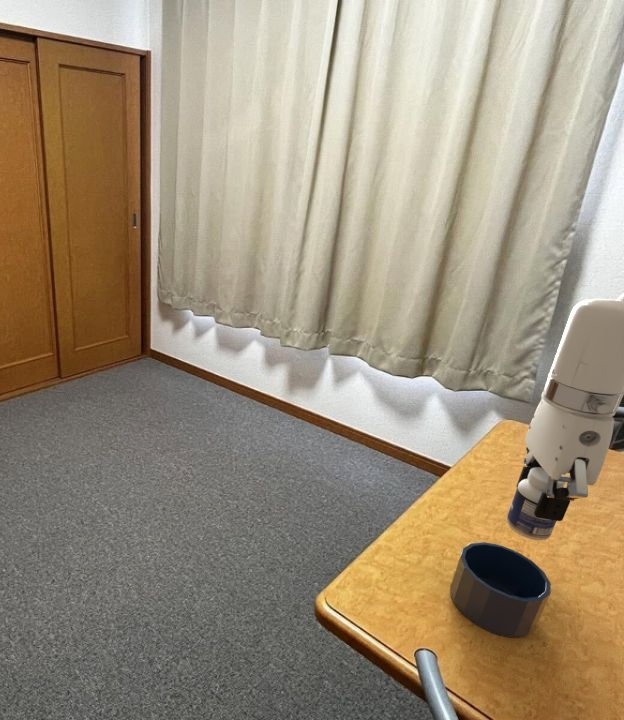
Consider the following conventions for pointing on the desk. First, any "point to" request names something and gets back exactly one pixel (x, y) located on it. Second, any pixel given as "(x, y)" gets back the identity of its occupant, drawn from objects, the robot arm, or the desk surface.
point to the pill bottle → (531, 507)
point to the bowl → (499, 589)
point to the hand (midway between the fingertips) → (538, 502)
